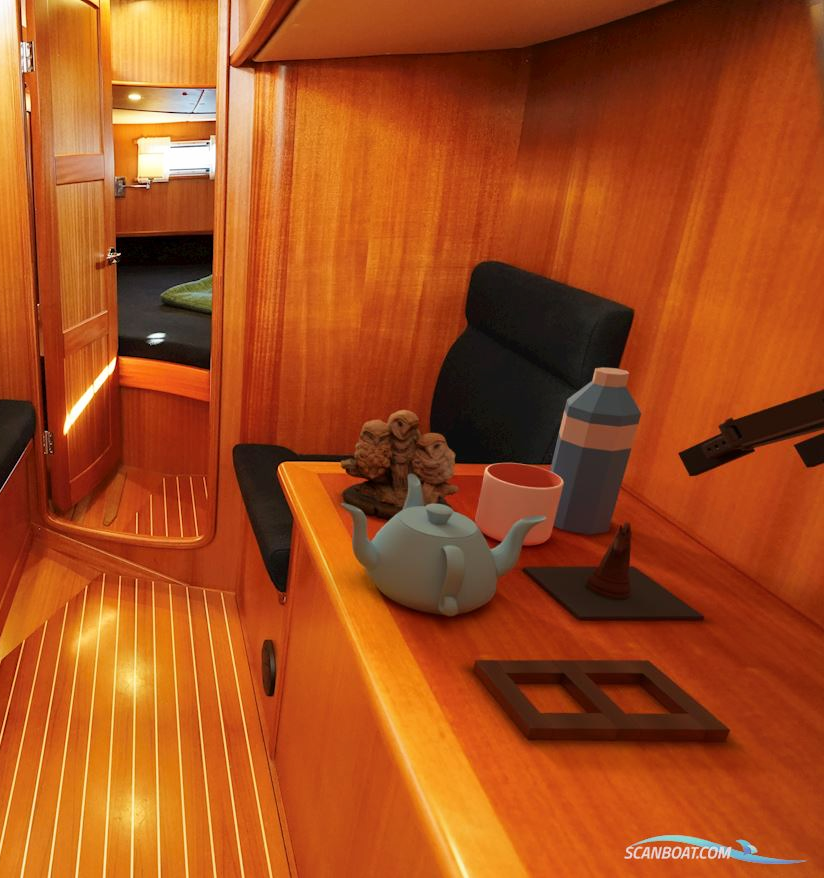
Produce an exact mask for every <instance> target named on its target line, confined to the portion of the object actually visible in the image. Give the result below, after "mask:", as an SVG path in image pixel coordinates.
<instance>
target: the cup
mask: <svg viewBox="0 0 824 878" xmlns="http://www.w3.org/2000/svg"><path fill="white" fill-rule="evenodd" d="M482 478H483V479H482V484H481V488H480V492H479V498H478V503H477V508H476V514H475V517H474V518H475V520H474V523H475V524H476V525H477V526H478V528H479V529H480V531H481V532H482V534H483V535H485V536H486V537H489V538H491V539H493V540H495V541H498V542H500V543H502V542H503V540H504V539H505V537H506V536H507V534H508V532H509V531H510V529H511V528H512V526H513V525H514V524H515V523H516V522H518V521H519V520H521V519H523V518H526V517H531V516H544V517H546V520H544V521H542V522H541V523H539V524H537V525H535V526H534V527H533V528H532V529H531V530H530V531H529V532H528V533H527V535H526V537H525V539H524V542H523V545H522V547H523V546H525V547H526V546H527V547H529V546H537V545H541V544H543V543H546V542H547V541H548V540H549V539H550V538H551V536H552V533H553V529H554V526H553V525H554V520H555V516H556V512H557V508H558V504H559V500H560V496H561V492H562V488H563V484H564V482H563V480H562V478H561V477H560V476H558V475H557V474H555V473H553V472H551V471H550V470H548V469H545V468H542V467H538V466H534V465H531V464H523V463H517V462H516V463H515V462H500V463H492V464H490V465H487V466H486V467H485V469H484V473H483V477H482Z"/></svg>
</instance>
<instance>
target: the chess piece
mask: <svg viewBox="0 0 824 878" xmlns="http://www.w3.org/2000/svg"><path fill="white" fill-rule="evenodd" d="M631 529H632V528H631V522H630V521H629V522H628V521H625V522H624V524H623V525H622V524H620V525H619V529H617V530H616V532H615V535H614V539H613V540H612V541H611V543H610V545H609V547H608V548H607V550H606V552H605V553H604V554H603V557H602V559H601V560H600V562H599V564H598V566H595V567H596V568H595V569H594V572H593V573H592V574H591V575H590V576H589V578H588V581H587V583H586V585H587V587H588V589H589V590H590V591H592V592H593V593H595V594H597V595H599V596H602V597H605V598H609V599H616V600H623V599H627V598H628V597H629V596H630V590H631V584H630V580H631V578H630V576H629V575H628V572H629V567H630V564H631V563H630V562H631V546H632V545H631V544H632V543H631V542H632V530H631Z"/></svg>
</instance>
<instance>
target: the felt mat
mask: <svg viewBox="0 0 824 878" xmlns="http://www.w3.org/2000/svg"><path fill="white" fill-rule="evenodd" d="M596 567H597V566H523V568H522V571H523V572H524V573H525V574H526V575H527V576H528V577H530V578H531V579H532V580H533V581H534V582H535V583H536V584H538V585H539V587H541V588H542V589H543V590H544V591H545V592H546V593H547V594H549V595H550V596H551V597H552V598H553V599H554V600H555V601H557V603H559V604H560V605H561V606H562V607H563V608H565V609H566V610H567V611H568V612H569V613H570V614H571V615H572V616H574V618H576V619H577V620H578V621H704V619H705V615H703V614H702V613H700V612H699V611H698V610H696V609H695V608H693V607H692V606H691V605H690V604H688V603H686V602H685V601H683V600H682V599H681V598H679V597H677V596H676V595H675V594H673V593H672V592H670V591H669V590H668V589H666V588H665V587H663V586H662V585H661V584H659V583H657V582H656V581H655V580H654V579H652V578H651V577H649V576H648V575H646V574H645V573H644V572H642V571H641V570H639V569H638V568H637V567H635V566H629V572H628V575H629V576H630V578H631V580H630V584H631V590H630V596H629V597H628V598H627V599H623V600H616V599H609V598H605V597H602V596H599V595H597V594H595V593H593V592H592V591H590V590H589V589H588V587H587V585H586V583H587V581H588V578H589V576H590V575H591V574H592V573H593V572H594V569H595V568H596Z"/></svg>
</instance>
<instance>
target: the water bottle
mask: <svg viewBox="0 0 824 878" xmlns="http://www.w3.org/2000/svg"><path fill="white" fill-rule="evenodd" d="M629 376H630V372H629V371H628V370H625V369H621V368H616V367H615V368H614V367H604V366H603V367H596V368H594V372H593V377H592V380H591V381H590V382H588V383H587V384H586V385H584V386H583V387H582V388H580V389H579V390H578V391H577V392H575V393H573V394H572V395H571V396H570V397H568V398H567V399H566V402H565V407H564V411H563V415H562V418H561V423H560V427H559V431H558V436H557V440H556V445H555V448H554V453H553V456H552V461H551V465H550V470H549V471H551V472H553V473H555V474H557V475H558V476H560V477H561V478H562V480H563V482H564V484H563V488H562V492H561V496H560V500H559V504H558V508H557V512H556V516H555V520H554V525H553V527H555V528H557V529H559V530H561V531H565V532H571V533H578V534H583V535H588V536H592V535H596V534H603V533H607V532H609V530H610V527H611V523H612V519H613V516H614V512H615V509H616V505H617V502H618V498H619V495H620V491H621V488H622V485H623V481H624V478H625V473H626V470H627V466H628V462H629V459H630V455H631V452H632V449H633V444H634V441H635V437H636V434H637V430H638V427H639V423H640V420H641V417H642V416H641V415H642V412H641V410H640V409H639V407H638V405H637V403H636V401H635V400H634V398H633V396H632V395H631V392H630V391H629V389H628V387H627V384H628V380H629Z"/></svg>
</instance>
